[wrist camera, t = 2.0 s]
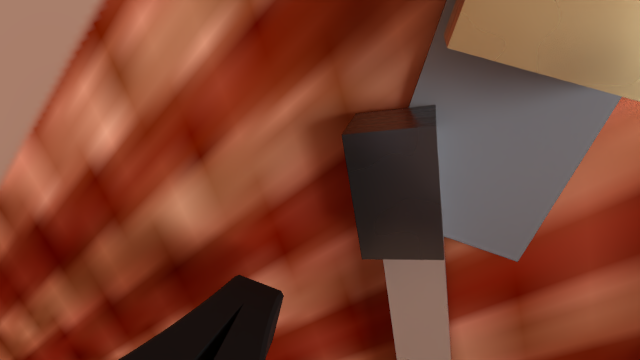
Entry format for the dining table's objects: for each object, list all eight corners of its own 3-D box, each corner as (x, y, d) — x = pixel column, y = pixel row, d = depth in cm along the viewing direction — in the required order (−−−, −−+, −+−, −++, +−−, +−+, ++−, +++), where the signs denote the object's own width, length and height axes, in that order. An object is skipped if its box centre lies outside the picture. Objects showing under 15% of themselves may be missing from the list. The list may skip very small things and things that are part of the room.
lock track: (772, -160, 6) (787, -167, 5) (515, 254, 10) (517, 262, 9) (519, -205, 6) (523, -215, 6) (373, 206, 10) (371, 211, 10)
